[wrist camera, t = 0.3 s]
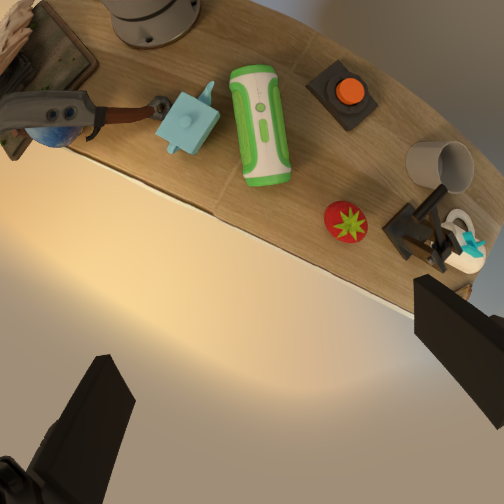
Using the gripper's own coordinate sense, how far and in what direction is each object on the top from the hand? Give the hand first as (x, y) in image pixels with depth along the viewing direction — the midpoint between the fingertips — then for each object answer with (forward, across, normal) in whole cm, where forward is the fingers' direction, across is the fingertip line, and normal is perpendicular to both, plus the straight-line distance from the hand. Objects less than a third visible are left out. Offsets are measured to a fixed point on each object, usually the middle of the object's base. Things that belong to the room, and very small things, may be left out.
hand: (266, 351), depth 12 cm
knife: (+40, -8, +16) cm, 44 cm away
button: (+37, +20, +14) cm, 44 cm away
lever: (+27, +25, -7) cm, 37 cm away
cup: (+41, +34, 0) cm, 53 cm away
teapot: (+40, -4, +15) cm, 43 cm away
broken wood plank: (+34, -33, +42) cm, 63 cm away
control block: (+40, +20, +14) cm, 47 cm away
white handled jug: (+41, +40, -16) cm, 59 cm away
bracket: (+40, +28, -11) cm, 50 cm away
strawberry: (+41, +15, -5) cm, 44 cm away
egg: (+41, -21, +18) cm, 49 cm away
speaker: (+41, +6, +12) cm, 43 cm away
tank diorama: (+40, -35, +36) cm, 65 cm away
